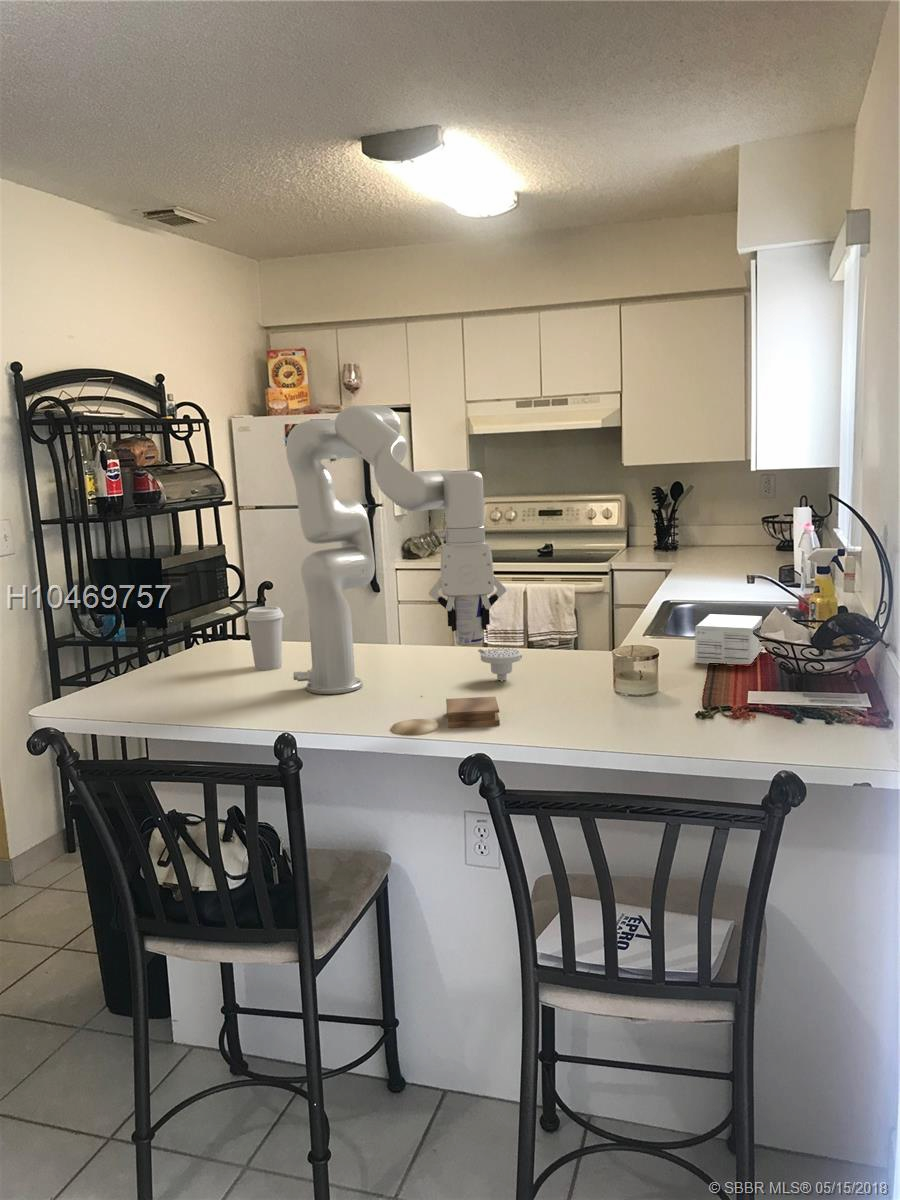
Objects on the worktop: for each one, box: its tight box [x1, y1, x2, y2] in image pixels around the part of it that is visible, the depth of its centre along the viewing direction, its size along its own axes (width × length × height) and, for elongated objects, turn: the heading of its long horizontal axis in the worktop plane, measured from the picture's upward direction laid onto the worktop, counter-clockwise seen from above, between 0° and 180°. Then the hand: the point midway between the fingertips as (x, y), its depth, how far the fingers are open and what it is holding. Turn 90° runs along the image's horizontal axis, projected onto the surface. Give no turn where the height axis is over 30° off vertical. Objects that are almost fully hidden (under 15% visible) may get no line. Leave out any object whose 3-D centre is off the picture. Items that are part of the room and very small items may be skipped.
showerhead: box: [477, 647, 523, 681], centre depth 215 cm, size 9×7×10 cm
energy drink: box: [453, 595, 484, 647], centre depth 182 cm, size 5×5×12 cm
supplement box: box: [694, 613, 763, 665], centre depth 228 cm, size 17×13×9 cm
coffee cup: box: [244, 605, 285, 671], centre depth 237 cm, size 10×10×15 cm
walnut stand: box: [445, 696, 501, 729], centre depth 186 cm, size 10×10×3 cm
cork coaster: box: [391, 718, 440, 736], centre depth 182 cm, size 9×9×1 cm
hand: (468, 628), depth 183 cm, fingers closed on energy drink, 5 cm apart
